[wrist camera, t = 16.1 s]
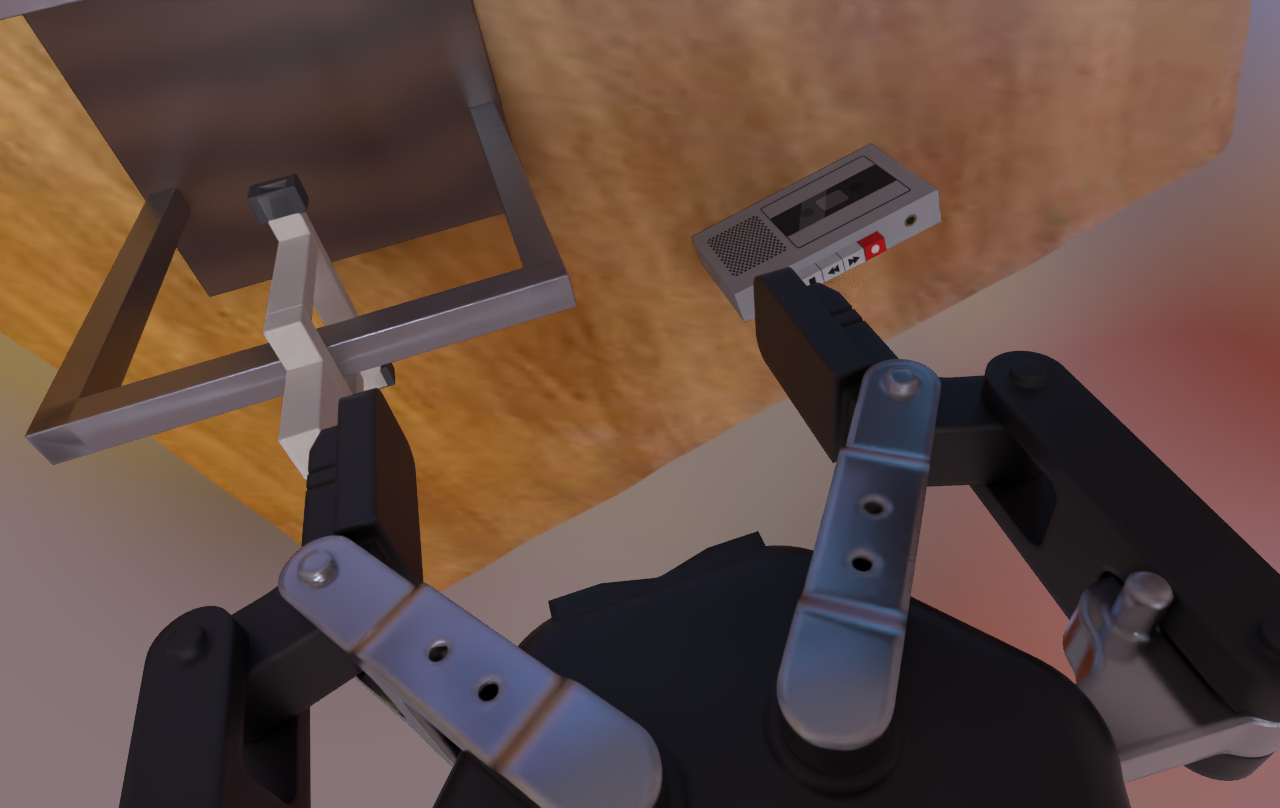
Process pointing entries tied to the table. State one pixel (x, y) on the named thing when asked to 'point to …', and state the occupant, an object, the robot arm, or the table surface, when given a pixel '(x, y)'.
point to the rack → (272, 148)
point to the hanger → (305, 319)
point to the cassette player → (819, 225)
